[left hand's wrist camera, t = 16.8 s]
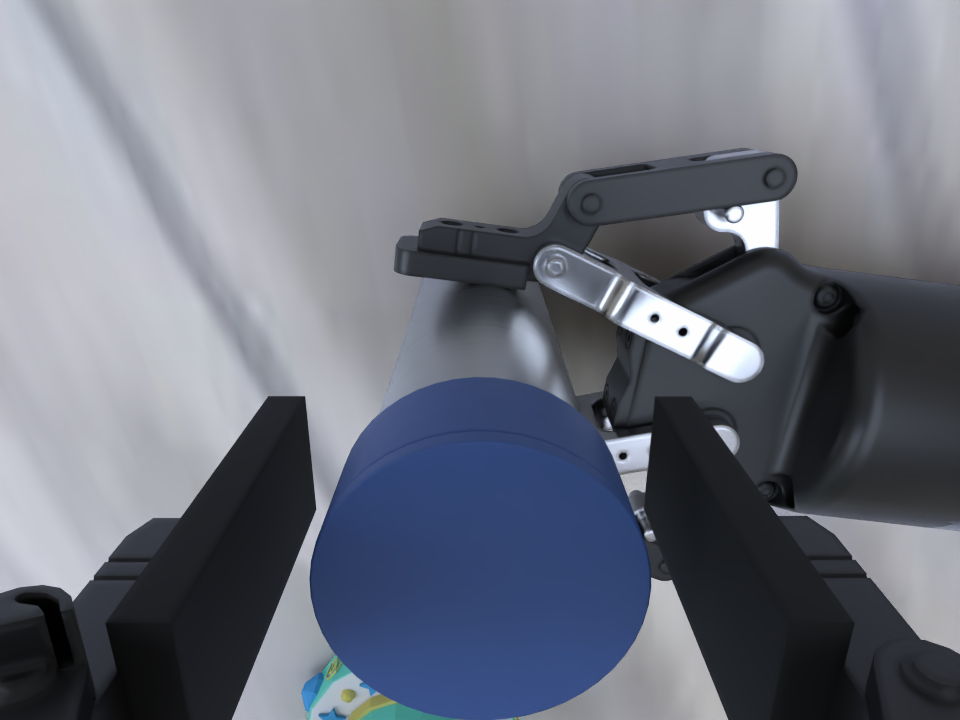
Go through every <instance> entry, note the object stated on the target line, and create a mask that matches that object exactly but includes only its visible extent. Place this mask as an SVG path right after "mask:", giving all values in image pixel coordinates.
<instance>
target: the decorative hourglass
mask: <svg viewBox="0 0 960 720" xmlns="http://www.w3.org/2000/svg"><path fill="white" fill-rule="evenodd" d="M301 693H302V697H303V701H304V705H305V710H306V711H307V712H306V720H461V719H453V718H445V717H441V716H436V715H432V714H427V713H424V712H421V711H418V710H415V709H412V708H409V707H406V706H404V705H402V704H399V703H397V702H395V701H393V700H391V699H389V698H387V697H385V696H383V695H382V694H380V693H378V692H377V691H375V690H373V689H372V688H370V687H369V686H368V685H367V684H365V683H364V682H363V681H361V680H360V679H359V678H357V677H356V676H355V675H354V674H353V673H352V672H351V671H350V670H349V669H348V668H347V667H346V666H345V665H344V664H343V663H342V662H341V660H340V659H339V658H338V657H337V655H336V654H335V656H334V657H333V658H332V660H331V661H330V662H329V664H328V665H327V666H326V668H325V669H324V670H323V671H322V673H318V674H317V675H315V676H314V677H313V678H311V679H310V680H309V681H307V682H306V683H305V684H304V687H303V690H302V692H301ZM499 720H518V717H515V718H509V719H499Z"/></svg>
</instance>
